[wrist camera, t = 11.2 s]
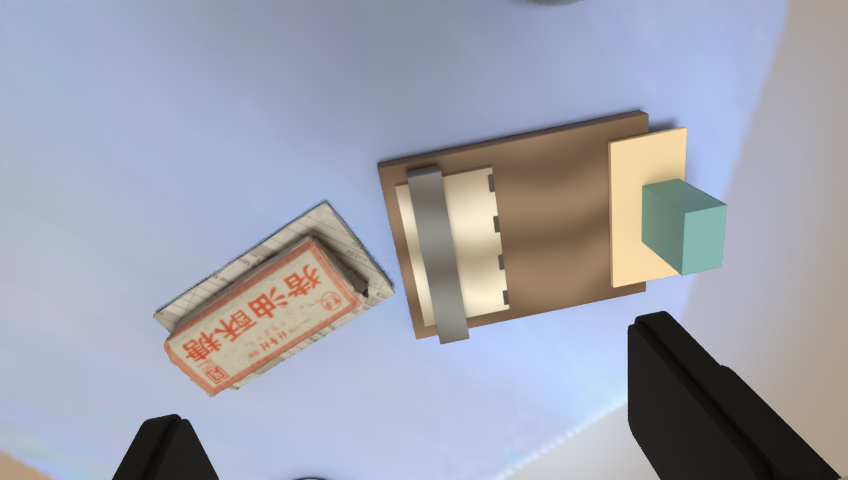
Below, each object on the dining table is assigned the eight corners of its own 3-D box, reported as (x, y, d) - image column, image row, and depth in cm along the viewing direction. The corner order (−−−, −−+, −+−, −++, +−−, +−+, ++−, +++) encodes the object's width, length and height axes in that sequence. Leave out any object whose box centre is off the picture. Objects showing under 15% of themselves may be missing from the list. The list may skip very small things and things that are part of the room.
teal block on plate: (607, 141, 39) (650, 165, 33) (683, 126, 39) (739, 147, 33) (610, 285, 44) (647, 327, 38) (676, 271, 44) (723, 311, 39)
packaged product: (222, 420, 43) (132, 342, 39) (236, 382, 47) (156, 309, 43) (398, 314, 40) (321, 218, 36) (395, 284, 44) (326, 196, 41)
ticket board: (377, 163, 39) (378, 177, 36) (638, 110, 40) (663, 119, 36) (414, 329, 46) (418, 354, 43) (637, 282, 47) (657, 303, 43)
